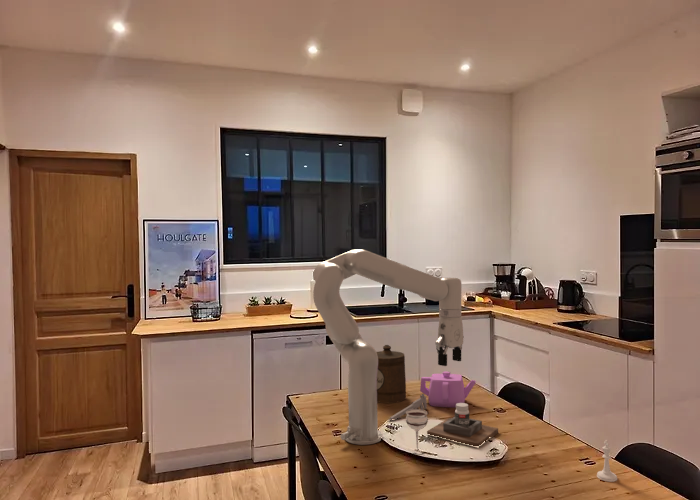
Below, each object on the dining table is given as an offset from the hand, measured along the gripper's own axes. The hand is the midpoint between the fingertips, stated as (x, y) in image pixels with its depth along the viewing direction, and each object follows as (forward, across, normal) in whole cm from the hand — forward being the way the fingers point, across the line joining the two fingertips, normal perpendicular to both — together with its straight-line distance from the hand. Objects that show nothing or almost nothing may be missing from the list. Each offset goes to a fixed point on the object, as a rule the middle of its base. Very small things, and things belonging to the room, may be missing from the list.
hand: (449, 363), depth 174 cm
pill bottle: (+21, -2, -6) cm, 22 cm away
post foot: (+22, -2, -6) cm, 23 cm away
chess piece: (+22, -6, -52) cm, 56 cm away
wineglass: (+23, -24, -2) cm, 33 cm away
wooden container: (+23, +15, +37) cm, 46 cm away
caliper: (+23, +2, +19) cm, 30 cm away
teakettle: (+22, +25, +15) cm, 37 cm away
